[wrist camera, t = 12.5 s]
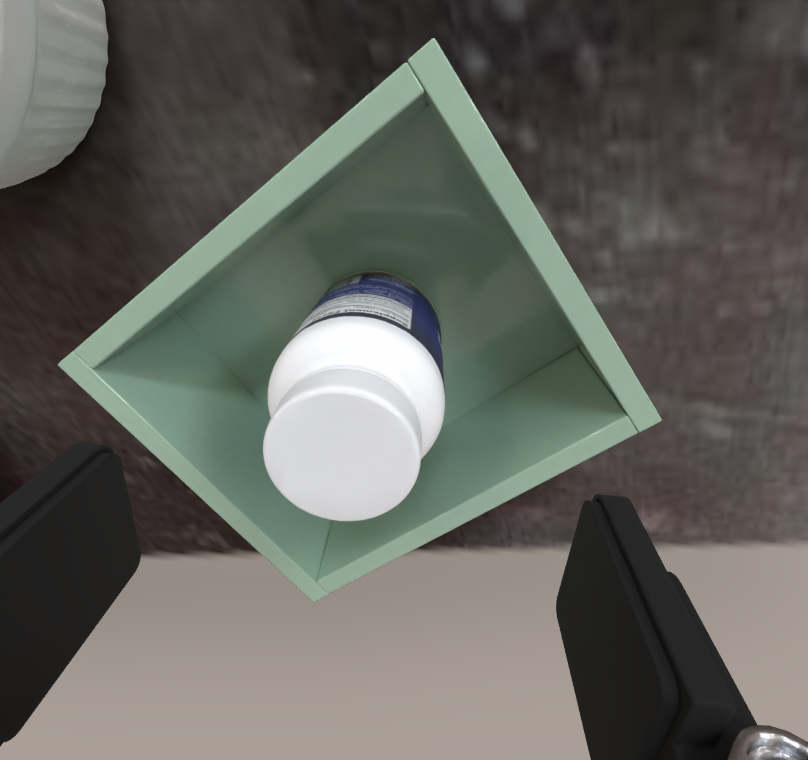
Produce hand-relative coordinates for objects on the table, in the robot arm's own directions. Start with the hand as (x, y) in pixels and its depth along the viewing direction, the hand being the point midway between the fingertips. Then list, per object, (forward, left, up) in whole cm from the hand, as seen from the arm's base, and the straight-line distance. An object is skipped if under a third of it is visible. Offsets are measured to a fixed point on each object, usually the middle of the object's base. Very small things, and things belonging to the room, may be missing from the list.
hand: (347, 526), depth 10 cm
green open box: (+1, 0, -13) cm, 13 cm away
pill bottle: (0, 0, -12) cm, 12 cm away
